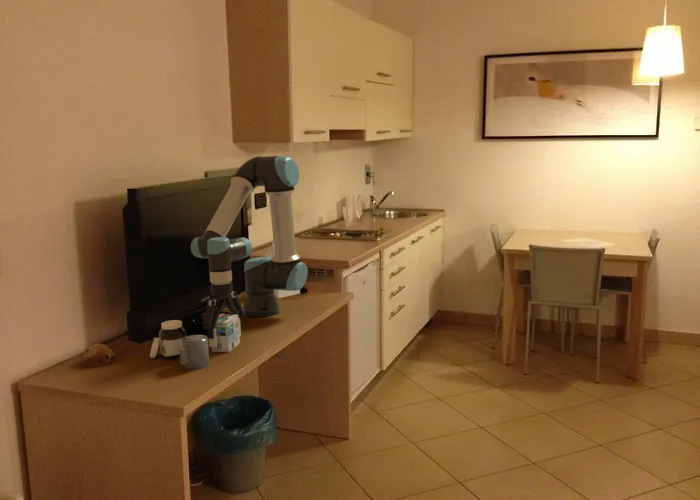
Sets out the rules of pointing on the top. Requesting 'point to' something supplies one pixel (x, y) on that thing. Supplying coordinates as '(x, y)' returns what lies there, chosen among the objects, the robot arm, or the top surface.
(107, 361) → the bread roll
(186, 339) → the grey mug
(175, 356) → the spread jar
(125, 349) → the top surface
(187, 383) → the top surface
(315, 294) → the top surface
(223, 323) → the light bulb box
